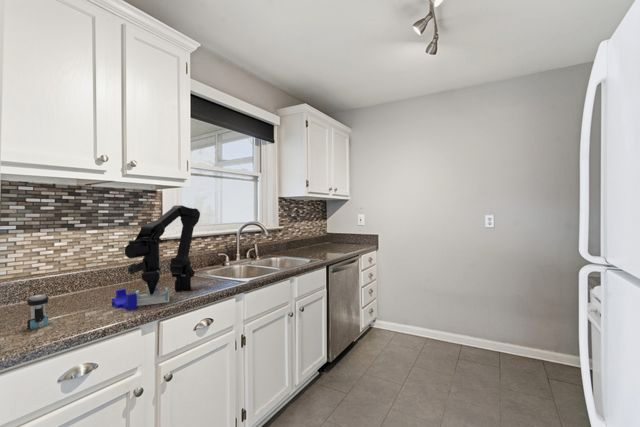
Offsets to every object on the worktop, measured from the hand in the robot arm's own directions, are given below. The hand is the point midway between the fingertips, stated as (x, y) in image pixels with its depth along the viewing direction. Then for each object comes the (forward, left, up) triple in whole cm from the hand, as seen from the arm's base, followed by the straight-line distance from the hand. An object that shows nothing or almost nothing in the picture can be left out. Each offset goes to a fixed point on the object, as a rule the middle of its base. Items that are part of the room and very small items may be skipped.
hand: (152, 292), depth 129 cm
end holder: (0, 0, -4) cm, 4 cm away
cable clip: (+10, +4, -4) cm, 11 cm away
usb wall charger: (0, 0, -1) cm, 1 cm away
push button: (+32, +15, -4) cm, 35 cm away
